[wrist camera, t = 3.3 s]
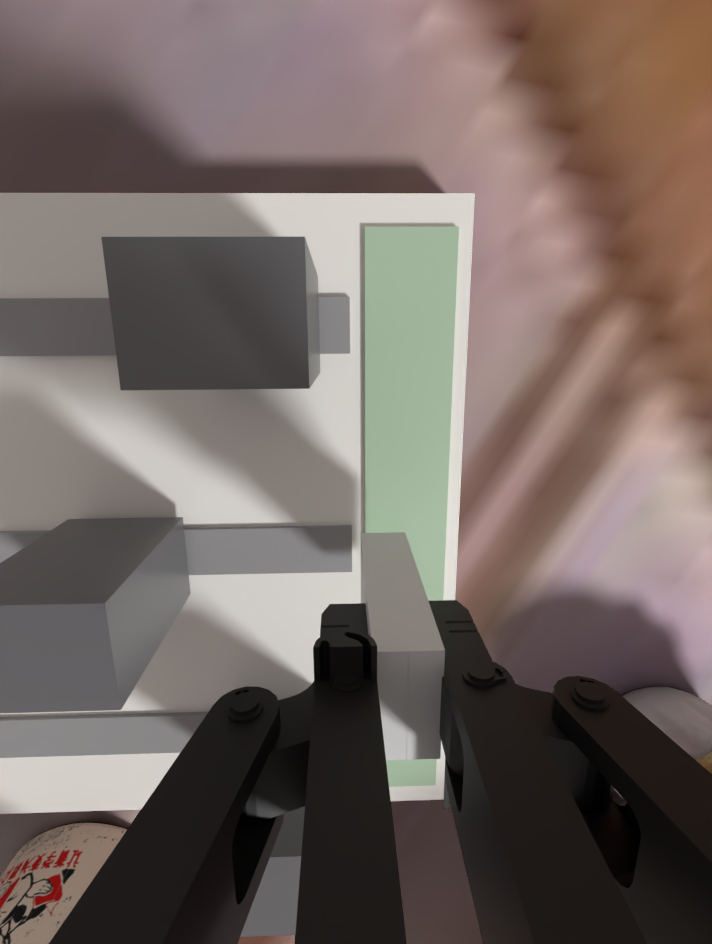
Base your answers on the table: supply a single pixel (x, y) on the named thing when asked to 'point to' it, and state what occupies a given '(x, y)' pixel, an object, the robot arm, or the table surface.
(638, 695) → the cupcake
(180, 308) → the block
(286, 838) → the block
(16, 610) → the block
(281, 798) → the robot arm
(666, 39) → the table surface
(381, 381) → the panel
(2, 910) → the teacup with lid
